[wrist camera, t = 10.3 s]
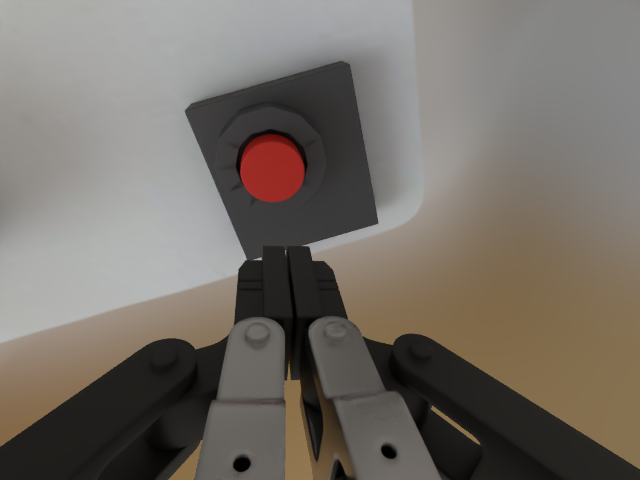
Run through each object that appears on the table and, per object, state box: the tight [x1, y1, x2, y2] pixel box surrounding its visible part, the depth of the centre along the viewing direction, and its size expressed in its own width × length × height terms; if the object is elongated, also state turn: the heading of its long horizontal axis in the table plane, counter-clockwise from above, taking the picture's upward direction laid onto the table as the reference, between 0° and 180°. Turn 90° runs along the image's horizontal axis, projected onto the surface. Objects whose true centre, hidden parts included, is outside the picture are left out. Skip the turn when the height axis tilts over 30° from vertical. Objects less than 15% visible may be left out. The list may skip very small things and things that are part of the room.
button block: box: [185, 61, 378, 260], centre depth 24 cm, size 11×10×4 cm
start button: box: [240, 134, 305, 202], centre depth 21 cm, size 4×4×2 cm
